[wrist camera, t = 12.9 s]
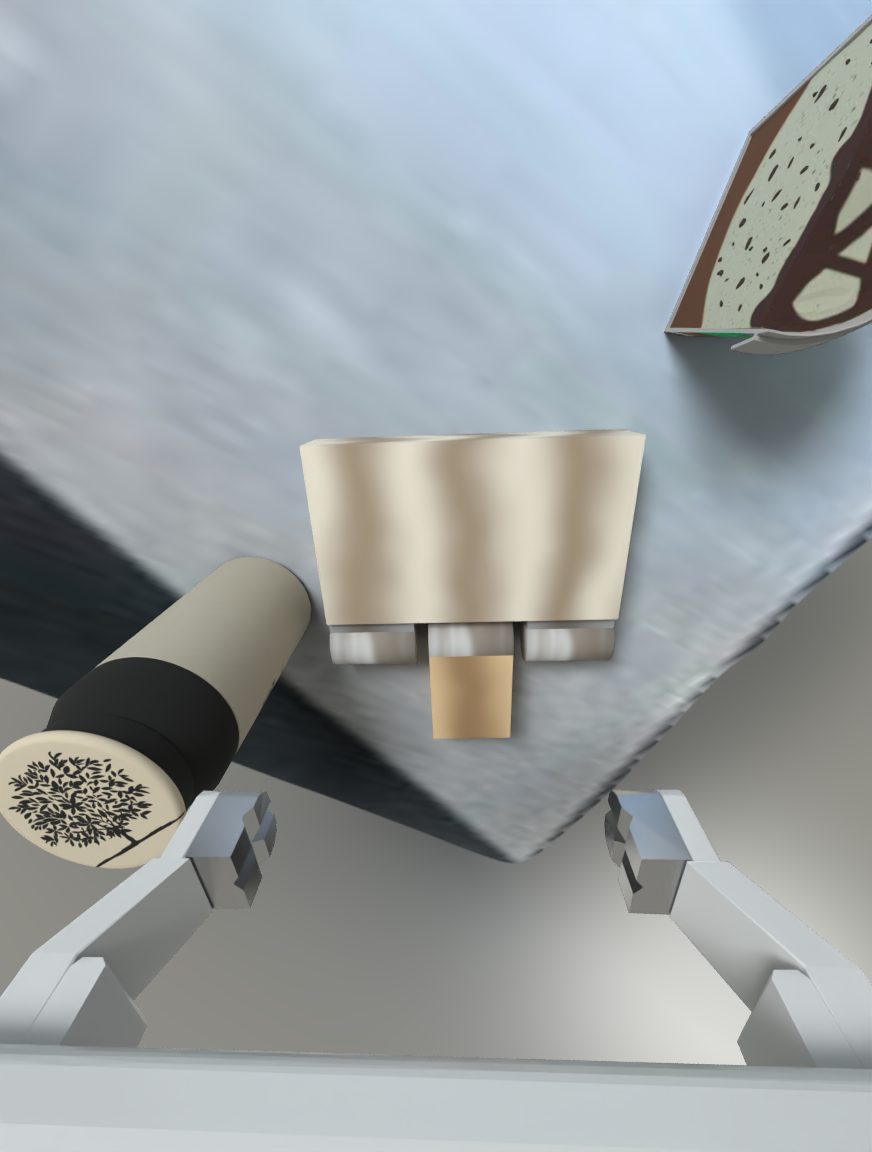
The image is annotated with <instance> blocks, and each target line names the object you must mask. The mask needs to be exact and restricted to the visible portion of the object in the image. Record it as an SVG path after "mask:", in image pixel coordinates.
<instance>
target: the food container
mask: <svg viewBox="0 0 872 1152" xmlns="http://www.w3.org/2000/svg"><path fill="white" fill-rule="evenodd" d="M871 322H872V15H871V16H870V17H869V18H868V19H867V20H866V21H865V22H864V23H863V24H862V25H860V26H859V27H858V28H857V29H856V30H855V31H854V32H853V33H852V34H851V35H850V36H849V37H848V38H847V39H846V40H845V41H844V42H843V43H842V44H841V45H840V46H838V47H837V48H836V49H835V50H834V51H833V52H832V53H831V54H830V55H829V56H828V57H827V58H826V59H825V60H824V61H823V62H822V63H821V64H820V65H819V66H818V67H816V68H815V69H814V70H813V71H812V72H811V73H810V74H809V75H808V76H807V77H806V78H805V79H804V80H803V81H802V82H801V83H800V84H799V85H798V86H797V87H796V88H795V89H793V90H792V91H791V92H790V93H789V94H788V95H787V96H786V97H785V98H784V99H783V100H782V101H781V102H780V103H779V104H778V105H777V106H776V107H775V108H774V109H773V110H771V111H770V112H769V113H768V114H767V115H766V116H765V117H764V118H763V119H762V120H761V121H760V122H759V123H758V124H757V125H756V126H755V127H754V128H753V129H752V130H751V131H749V134H748V136H747V138H746V141H745V143H744V145H743V148H742V150H741V152H740V155H739V157H738V159H737V162H736V164H735V167H734V169H733V171H732V174H731V176H730V178H729V181H728V183H727V185H726V188H725V190H724V192H723V195H722V197H721V199H720V202H719V204H718V207H717V209H716V211H715V214H714V216H713V218H712V221H711V223H710V225H709V228H708V230H707V232H706V235H705V237H704V239H703V242H702V244H701V246H700V249H699V251H698V254H697V256H696V258H695V261H694V263H693V265H692V268H691V270H690V272H689V275H688V277H687V279H686V282H685V284H684V286H683V289H682V291H681V294H680V296H679V298H678V301H677V303H676V305H675V308H674V310H673V312H672V315H671V317H670V319H669V322H668V324H667V326H666V329H665V331H664V332H666V333H671V334H676V335H681V336H708V337H751V338H749V339H747V340H744V341H742V342H740V343H737V344H735V345H733V346H732V347H731V350H734V351H739V352H744V353H748V354H769V355H773V354H780V353H788V352H795V351H799V350H802V349H806V348H809V347H812V346H816V345H819V344H822V343H824V342H827V341H830V340H832V339H835V338H837V337H840V336H843V335H845V334H847V333H850V332H852V331H854V330H856V329H859V328H861V327H863V326H865V325H868V324H870V323H871Z"/></svg>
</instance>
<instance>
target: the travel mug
mask: <svg viewBox="0 0 872 1152" xmlns="http://www.w3.org/2000/svg"><path fill="white" fill-rule="evenodd" d="M310 617H311V605H310V600H309V597H308V594H307V592H306V590H305V588H304V587H303V585H302V584H301V582H300V581H299V580H298V579H297V578H296V576H295V575H293V574H292V573H291V572H290V571H289V570H287V569H286V568H284V567H283V566H281V565H279V564H277V563H275V562H273V561H270V560H267V559H263V558H257V557H242V558H237V559H233V560H231V561H228V562H226V563H225V564H223V565H221V566H220V567H219V568H218V569H216V570H215V571H214V572H213V573H211V574H210V575H209V576H208V577H207V578H205V579H204V580H203V581H202V582H200V583H199V584H198V585H197V586H195V587H194V588H193V589H192V590H190V591H189V592H188V593H187V594H186V595H184V596H183V597H182V598H181V599H179V600H178V601H177V602H176V603H174V604H173V605H172V606H171V607H169V608H168V609H167V610H166V611H165V612H163V613H162V614H161V615H160V616H158V617H157V618H156V619H155V620H153V621H152V622H151V623H150V624H148V625H147V626H146V627H145V628H143V629H142V630H141V631H140V632H139V633H137V634H136V635H135V636H134V637H132V638H131V639H130V640H129V641H127V642H126V643H125V644H124V645H122V646H121V647H120V648H119V649H118V650H116V651H115V652H114V653H113V654H111V655H110V656H109V657H108V658H106V659H105V660H104V661H103V662H101V663H100V664H99V665H98V666H97V667H95V668H94V669H93V670H92V671H90V672H89V673H88V674H87V675H85V676H84V677H83V678H82V679H80V680H79V681H78V682H77V683H75V684H74V685H73V686H72V687H71V688H69V689H68V690H67V691H66V692H64V693H63V694H62V695H61V696H60V698H59V699H58V700H57V702H56V704H55V706H54V707H53V710H52V713H51V716H50V719H49V722H48V725H47V728H46V729H45V730H43V731H42V732H40V733H36V734H32V735H29V736H26V737H24V738H22V739H19V740H17V741H15V742H14V743H13V744H11V745H9V746H8V747H7V748H6V749H5V750H4V751H3V752H2V753H1V754H0V812H1V813H2V815H3V816H4V818H5V819H6V820H7V821H8V822H9V823H10V825H12V827H13V828H14V829H15V830H17V831H18V832H19V833H20V834H21V835H22V836H24V837H25V838H27V839H28V840H29V841H31V842H32V843H34V844H35V845H37V846H38V847H40V848H42V849H44V850H46V851H48V852H49V853H52V854H54V855H56V856H59V857H61V858H64V859H66V860H69V861H73V862H76V863H79V864H83V865H88V866H94V867H99V868H116V869H118V868H132V867H138V866H142V865H145V864H147V863H148V862H149V861H150V860H152V859H153V858H160V857H161V855H162V853H163V852H164V850H165V848H166V847H167V845H168V843H169V842H170V840H171V838H172V837H173V835H174V833H175V832H176V830H177V829H178V827H179V825H180V824H181V822H182V820H183V819H184V817H185V815H186V812H187V810H188V808H189V807H190V806H191V805H192V804H193V802H194V800H195V799H196V797H197V796H198V795H199V794H200V793H202V792H203V791H213V790H214V789H215V788H216V786H217V785H218V784H219V782H220V781H221V779H222V777H223V775H224V774H225V772H226V770H227V768H228V767H229V765H230V763H231V761H232V759H233V758H234V756H235V754H236V752H237V751H238V749H239V747H240V745H241V744H242V742H243V740H244V738H245V737H246V735H247V733H248V731H249V730H250V728H251V726H252V724H253V723H254V721H255V719H256V717H257V715H258V714H259V712H260V710H261V708H262V707H263V705H264V703H265V701H266V700H267V698H268V696H269V694H270V693H271V691H272V689H273V687H274V686H275V684H276V682H277V680H278V678H279V677H280V675H281V673H282V671H283V670H284V668H285V666H286V664H287V663H288V661H289V659H290V657H291V656H292V654H293V652H294V650H295V649H296V647H297V645H298V643H299V641H300V640H301V638H302V636H303V634H304V633H305V631H306V629H307V627H308V625H309V622H310Z"/></svg>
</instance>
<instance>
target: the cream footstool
mask: <svg viewBox="0 0 872 1152" xmlns="http://www.w3.org/2000/svg"><path fill="white" fill-rule="evenodd" d="M645 437H646V435H644V434H640V433H636V432H632V431H628V430H624V429H616V430H586V431H555V432H524V433H493V434H463V435H432V436H401V437H371V438H340V439H315V440H313V441H310V442H308V443H306V444H303V445H301V446H300V453H301V459H302V466H303V472H304V479H305V486H306V492H307V499H308V505H309V512H310V519H311V525H312V532H313V538H314V545H315V551H316V558H317V565H318V571H319V578H320V584H321V591H322V598H323V604H324V611H325V617H326V624H327V625H329V629H330V653H331V658H332V661H333V663H334V664H335V665H345V664H406V663H417V656H418V628H417V623H449V622H501V621H520V644H521V652H522V656H523V660H524V661H525V662H529V661H590V660H610V659H611V658H612V656H613V653H614V647H615V633H614V623H615V619H618V617H619V610H620V604H621V597H622V590H623V584H624V577H625V570H626V564H627V557H628V550H629V544H630V537H631V530H632V524H633V517H634V511H635V504H636V497H637V491H638V484H639V477H640V471H641V464H642V457H643V451H644V444H645Z"/></svg>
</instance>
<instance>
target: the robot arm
mask: <svg viewBox="0 0 872 1152" xmlns="http://www.w3.org/2000/svg"><path fill="white" fill-rule="evenodd" d="M608 802H609V805H610V808H611V810H610V811H609V812H608V813H607V814H606V816H605V837H606V842H607V846H608V850H609V853H610V856H611V859H612V860H613V861H614V862H615V863H616V864H617V865H618V866H619V867H620V873H619V878H618V881H619V884H620V887H621V890H622V893H623V896H624V899H625V902H626V905H627V908H628V911H629V913H644V914H668V915H670V918H671V919H672V920H673V921H674V922H675V924H676V925H677V926H678V927H679V928H680V929H681V930H682V932H683V933H684V934H685V935H686V936H687V937H688V939H689V940H690V941H691V942H692V943H693V944H694V946H695V947H696V948H697V949H698V950H699V951H700V952H701V954H702V955H703V956H704V957H705V958H706V959H707V960H708V962H709V963H710V964H711V965H712V966H713V967H714V969H715V970H716V971H717V972H718V973H719V974H720V976H721V977H722V978H723V979H724V980H725V981H726V983H727V984H728V985H729V986H730V987H731V988H732V990H733V991H734V992H735V993H736V994H737V995H738V997H739V998H740V999H741V1000H742V1001H743V1002H744V1003H745V1005H746V1006H747V1007H748V1008H749V1009H750V1010H751V1012H752V1013H751V1015H750V1017H749V1019H748V1021H747V1022H746V1024H745V1026H744V1028H743V1030H742V1032H741V1035H740V1037H739V1039H738V1041H737V1043H738V1045H739V1047H740V1050H741V1052H742V1055H743V1057H744V1059H745V1062H746V1064H747V1065H715V1064H714V1065H713V1064H679V1063H646V1062H614V1061H580V1060H546V1059H512V1058H478V1057H443V1056H412V1055H375V1054H344V1053H343V1054H341V1053H310V1052H276V1051H274V1052H273V1051H241V1050H207V1049H173V1048H172V1049H171V1048H138V1045H139V1043H140V1041H141V1039H142V1036H143V1034H144V1032H145V1030H146V1028H147V1025H146V1019H145V1017H144V1016H143V1014H142V1013H141V1011H140V1010H139V1009H138V1007H137V1006H136V1004H135V1003H134V1000H135V999H136V997H137V996H138V995H139V994H140V993H141V992H142V991H143V989H144V988H145V987H146V986H147V985H148V984H149V983H150V982H151V981H152V979H153V978H154V977H155V976H156V975H157V974H158V973H159V972H160V971H161V969H162V968H163V967H164V966H165V965H166V964H167V963H168V962H169V960H170V959H171V958H172V957H173V956H174V955H175V954H176V953H177V952H178V950H179V949H180V948H181V947H182V946H183V945H184V944H185V943H186V941H187V940H188V939H189V938H190V937H191V936H192V935H193V934H194V933H195V932H196V930H197V929H198V928H199V927H200V926H201V925H202V924H203V922H204V921H205V920H206V919H207V918H208V917H209V916H210V915H211V914H212V913H213V909H242V908H243V909H244V908H251V905H252V903H253V900H254V897H255V895H256V892H257V890H258V886H259V884H260V882H261V879H262V874H261V871H260V866H261V865H262V864H263V863H264V862H265V861H266V860H267V859H268V858H269V857H270V855H271V852H272V849H273V847H274V843H275V837H276V831H277V829H276V819H275V815H274V814H273V813H272V812H271V811H270V810H268V809H267V808H268V806H269V803H270V799H269V796H268V793H267V792H251V791H203V792H202V793H200V794H199V795H198V796H197V797H196V799H195V800H194V802H193V804H192V805H191V807H190V809H189V810H188V812H187V814H186V815H185V817H184V819H183V820H182V822H181V824H180V825H179V827H178V829H177V830H176V832H175V833H174V835H173V837H172V838H171V840H170V842H169V843H168V845H167V847H166V848H165V850H164V852H163V853H162V855H161V857H160V858H153V859H152V860H150V861H149V862H148V863H147V864H145V865H144V866H143V867H141V868H140V869H139V870H138V871H136V872H135V873H134V874H133V875H131V876H130V877H129V878H128V879H126V880H125V881H124V882H122V883H121V884H120V885H119V886H117V887H116V888H115V889H114V890H112V891H111V892H110V893H108V894H107V895H106V896H105V897H103V898H102V899H101V900H100V901H98V902H97V903H96V904H94V905H93V906H92V907H91V908H89V909H88V910H87V911H85V912H84V913H83V914H82V915H81V916H79V917H78V918H77V919H75V920H74V921H73V922H72V923H70V924H69V925H68V926H66V927H65V928H64V929H63V930H61V931H60V932H59V933H58V934H56V935H55V936H54V937H52V938H51V939H50V940H49V941H47V942H46V943H45V944H44V945H42V946H41V947H40V948H38V949H37V950H36V951H35V952H33V953H32V954H31V956H30V957H29V959H28V960H27V962H26V963H25V964H24V966H23V967H22V968H21V970H20V971H19V973H18V974H17V975H16V977H15V978H14V979H13V981H12V982H11V984H10V985H9V986H8V988H7V989H6V990H5V992H4V993H3V994H2V996H1V997H0V1152H872V986H871V984H870V982H869V981H868V980H867V978H866V977H865V975H864V974H863V972H862V971H861V969H860V968H858V967H857V966H856V965H855V964H853V963H852V962H851V961H850V960H849V959H847V958H846V957H845V956H844V955H842V954H841V953H840V952H839V951H837V950H836V949H835V948H834V947H832V946H831V945H830V944H829V943H828V942H826V941H825V940H824V939H823V938H822V937H820V936H819V935H818V934H817V933H815V932H814V931H813V930H812V929H810V928H809V927H808V926H807V925H806V924H804V923H803V922H802V921H801V920H799V919H798V918H797V917H796V916H794V915H793V914H792V913H791V912H790V911H788V910H787V909H786V908H785V907H783V906H782V905H781V904H780V903H779V902H777V901H776V900H775V899H774V898H772V897H771V896H770V895H769V894H767V893H766V892H765V891H764V890H763V889H761V888H760V887H759V886H758V885H756V884H755V883H754V882H753V881H752V880H750V879H749V878H748V877H747V876H745V875H744V874H743V873H742V872H740V871H739V870H738V869H737V868H736V867H734V866H733V865H732V864H730V863H729V862H728V861H721V860H720V859H719V857H718V855H717V853H716V851H715V850H714V848H713V846H712V844H711V842H710V841H709V839H708V837H707V835H706V833H705V832H704V830H703V828H702V826H701V824H700V822H699V821H698V819H697V817H696V815H695V813H694V811H693V810H692V808H691V806H690V804H689V802H688V801H687V799H686V797H685V795H684V794H683V793H682V792H681V791H680V790H654V789H642V790H612V791H611V792H610V793H609V798H608Z"/></svg>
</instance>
